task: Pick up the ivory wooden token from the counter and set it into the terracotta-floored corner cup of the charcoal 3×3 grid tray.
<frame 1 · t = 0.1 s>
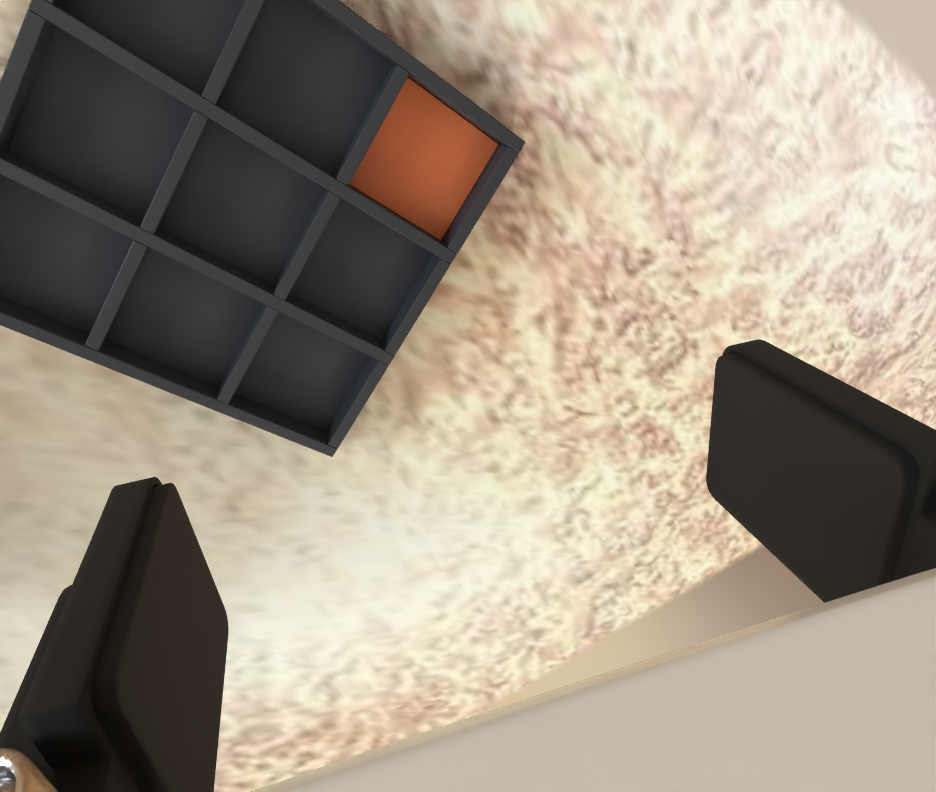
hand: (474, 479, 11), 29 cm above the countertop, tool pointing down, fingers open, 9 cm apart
grid: (245, 204, 34), on the countertop
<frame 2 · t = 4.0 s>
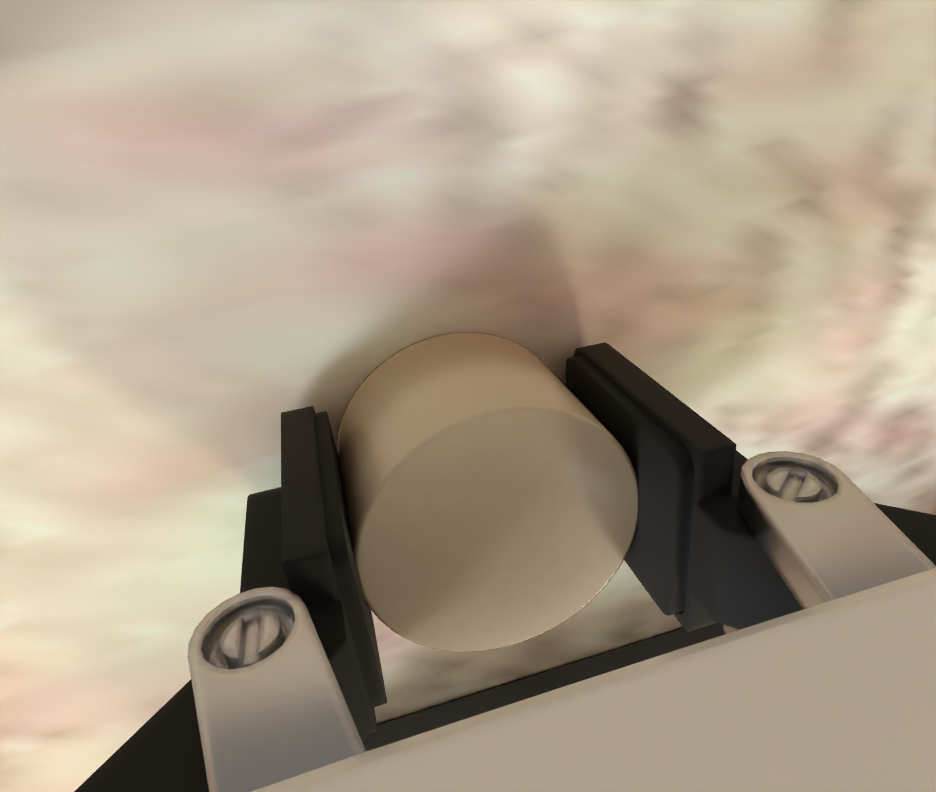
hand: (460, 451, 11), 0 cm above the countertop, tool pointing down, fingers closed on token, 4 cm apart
token: (455, 441, 12), on the countertop, touching gripper
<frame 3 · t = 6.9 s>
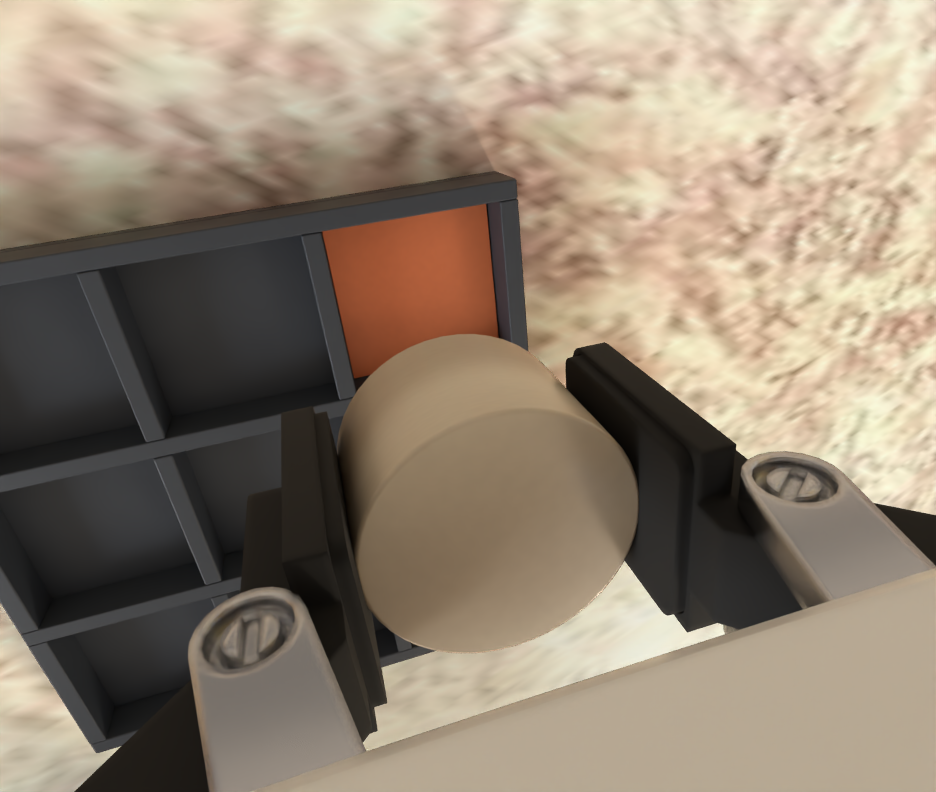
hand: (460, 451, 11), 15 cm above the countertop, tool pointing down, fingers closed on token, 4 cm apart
token: (455, 443, 12), point 15 cm above the countertop, touching gripper
grid: (280, 470, 27), on the countertop
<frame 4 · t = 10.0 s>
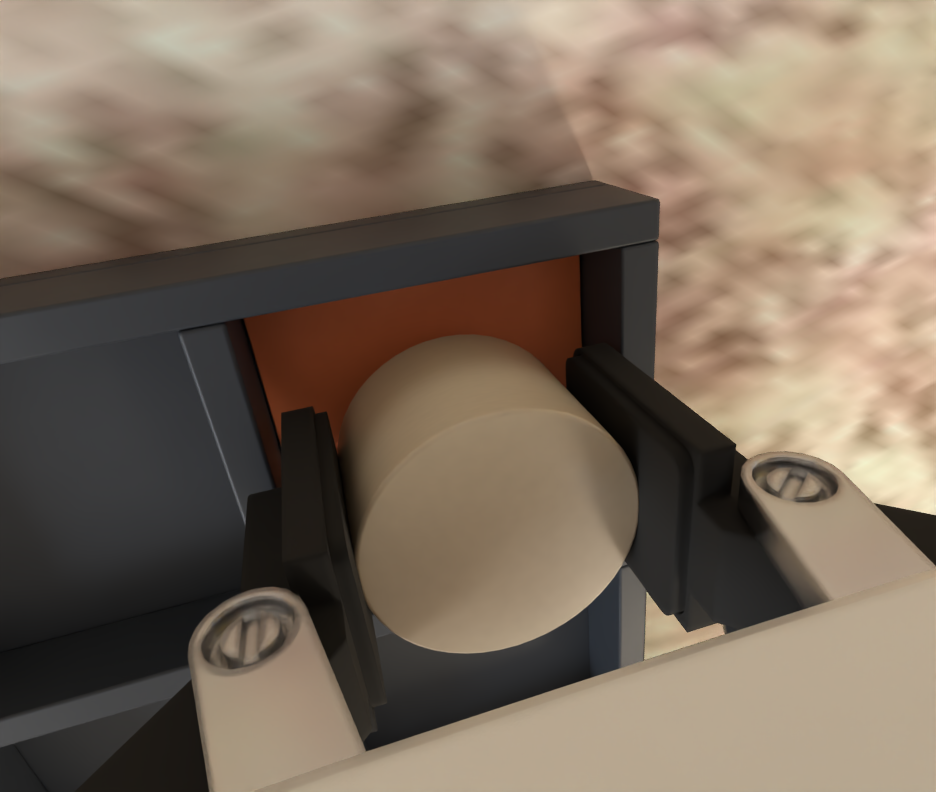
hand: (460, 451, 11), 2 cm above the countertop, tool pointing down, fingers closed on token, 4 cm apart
token: (455, 443, 12), point 2 cm above the countertop, touching gripper
grid: (190, 712, 15), on the countertop
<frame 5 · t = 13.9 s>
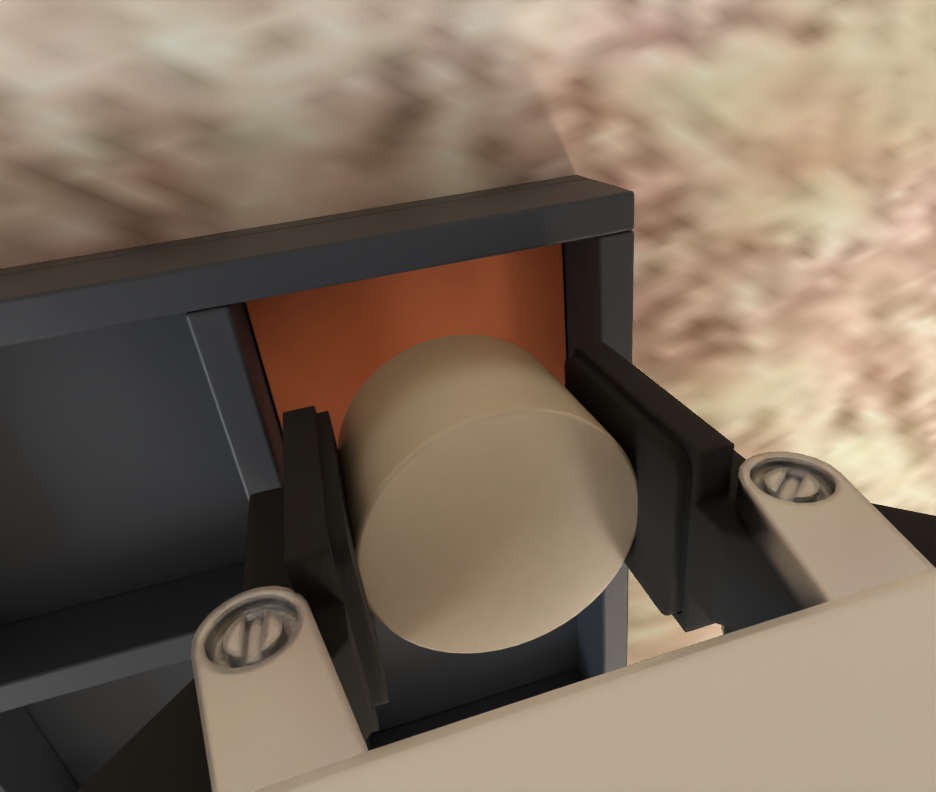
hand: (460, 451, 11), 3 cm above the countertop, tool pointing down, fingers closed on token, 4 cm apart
token: (456, 443, 12), point 3 cm above the countertop, touching gripper
grid: (194, 684, 16), on the countertop
when the fingers open (4 cm above the countertop, at t = 17.7 s): token drops 3 cm, resting on grid.
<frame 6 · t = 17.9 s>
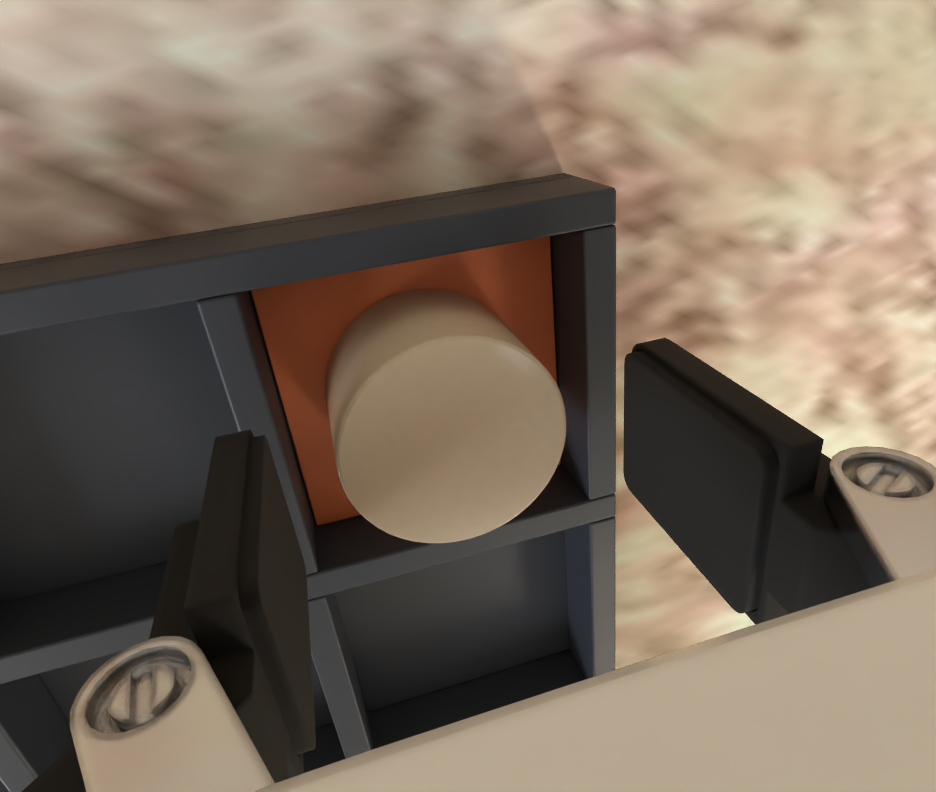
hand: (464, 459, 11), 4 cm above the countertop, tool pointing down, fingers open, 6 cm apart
token: (424, 382, 14), point 1 cm above the countertop, touching grid
grid: (200, 660, 17), on the countertop
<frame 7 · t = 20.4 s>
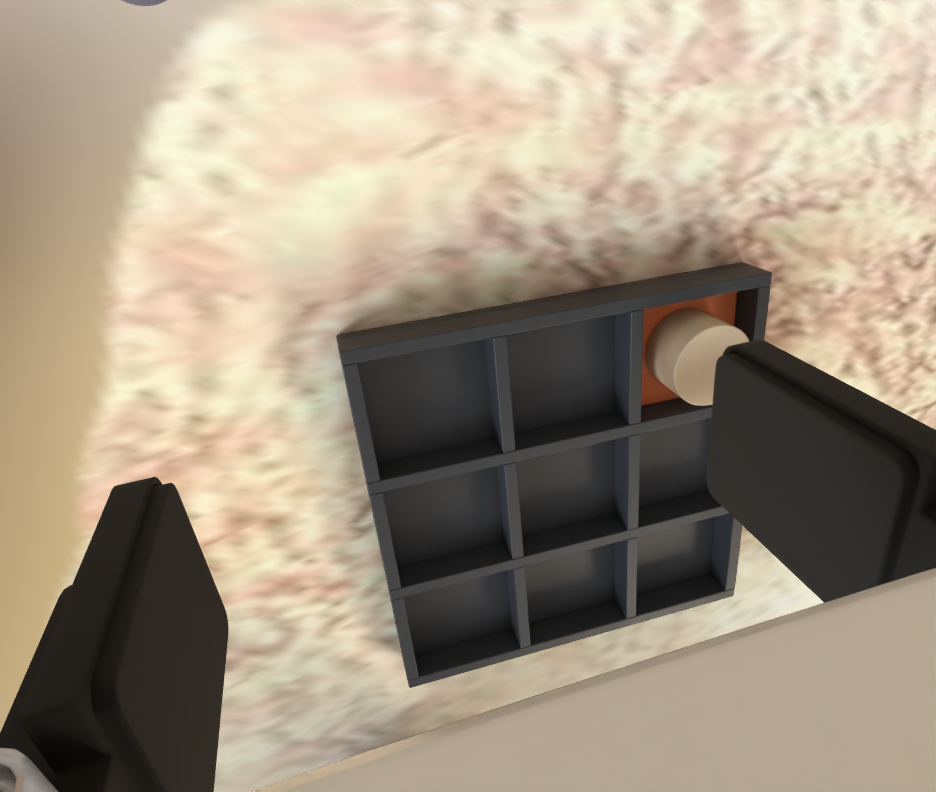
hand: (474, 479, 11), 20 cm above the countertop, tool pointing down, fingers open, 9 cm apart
token: (681, 346, 34), point 1 cm above the countertop, touching grid
grid: (559, 475, 37), on the countertop
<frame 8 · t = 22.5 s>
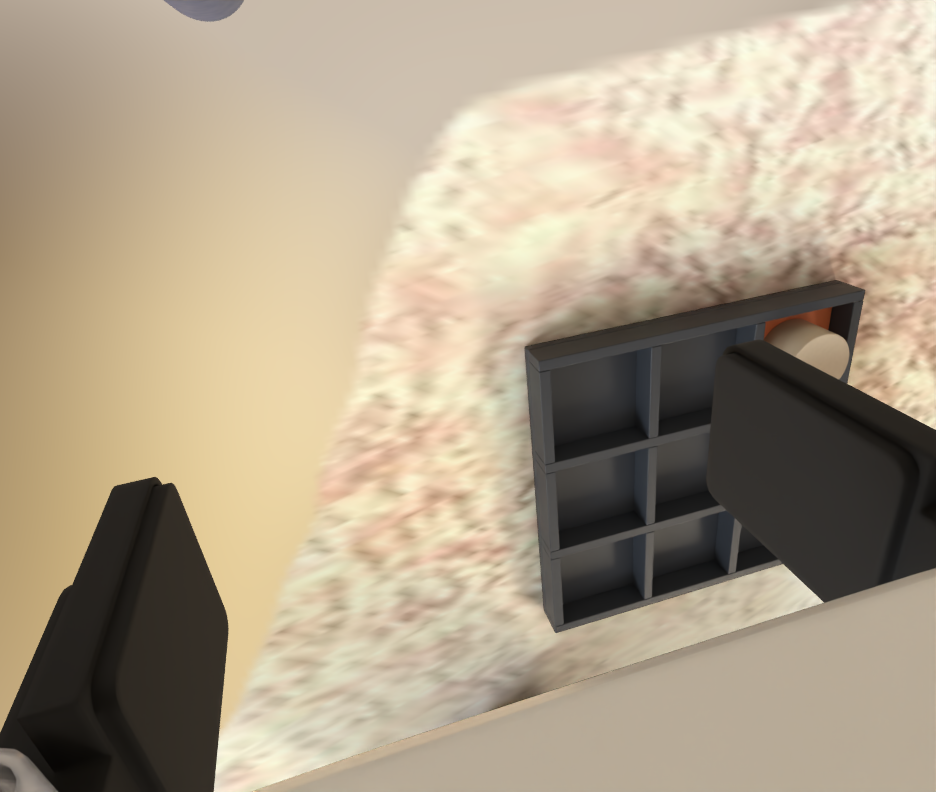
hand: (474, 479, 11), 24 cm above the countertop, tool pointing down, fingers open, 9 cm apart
token: (786, 349, 42), point 1 cm above the countertop, touching grid
grid: (679, 456, 45), on the countertop
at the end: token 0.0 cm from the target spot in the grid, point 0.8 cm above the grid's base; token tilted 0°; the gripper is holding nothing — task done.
